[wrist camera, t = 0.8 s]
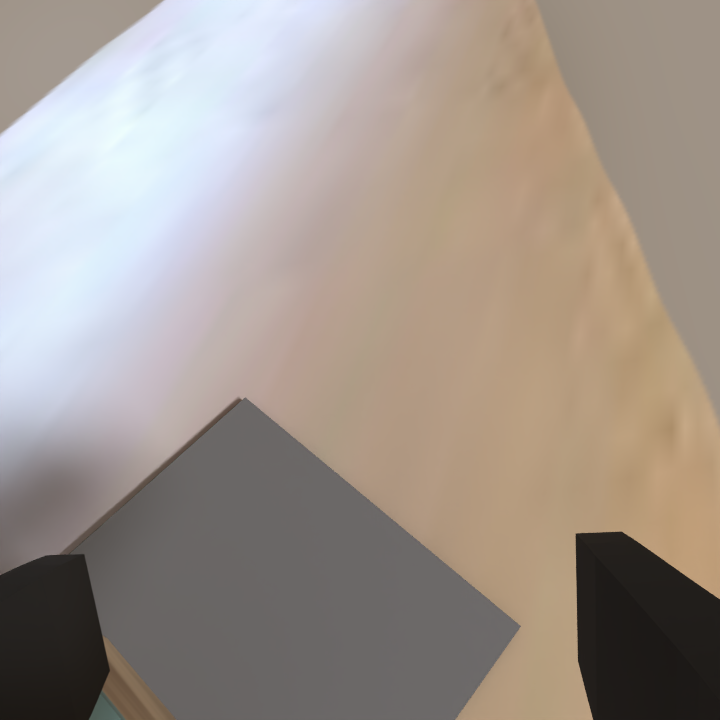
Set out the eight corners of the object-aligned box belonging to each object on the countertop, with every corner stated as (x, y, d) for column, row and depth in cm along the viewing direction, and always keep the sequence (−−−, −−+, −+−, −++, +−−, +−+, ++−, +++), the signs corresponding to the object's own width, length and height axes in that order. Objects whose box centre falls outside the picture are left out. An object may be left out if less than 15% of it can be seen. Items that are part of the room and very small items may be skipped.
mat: (159, 1138, 16) (154, 1145, 16) (-106, 717, 21) (-114, 716, 21) (518, 628, 23) (520, 626, 22) (246, 402, 28) (245, 397, 28)
